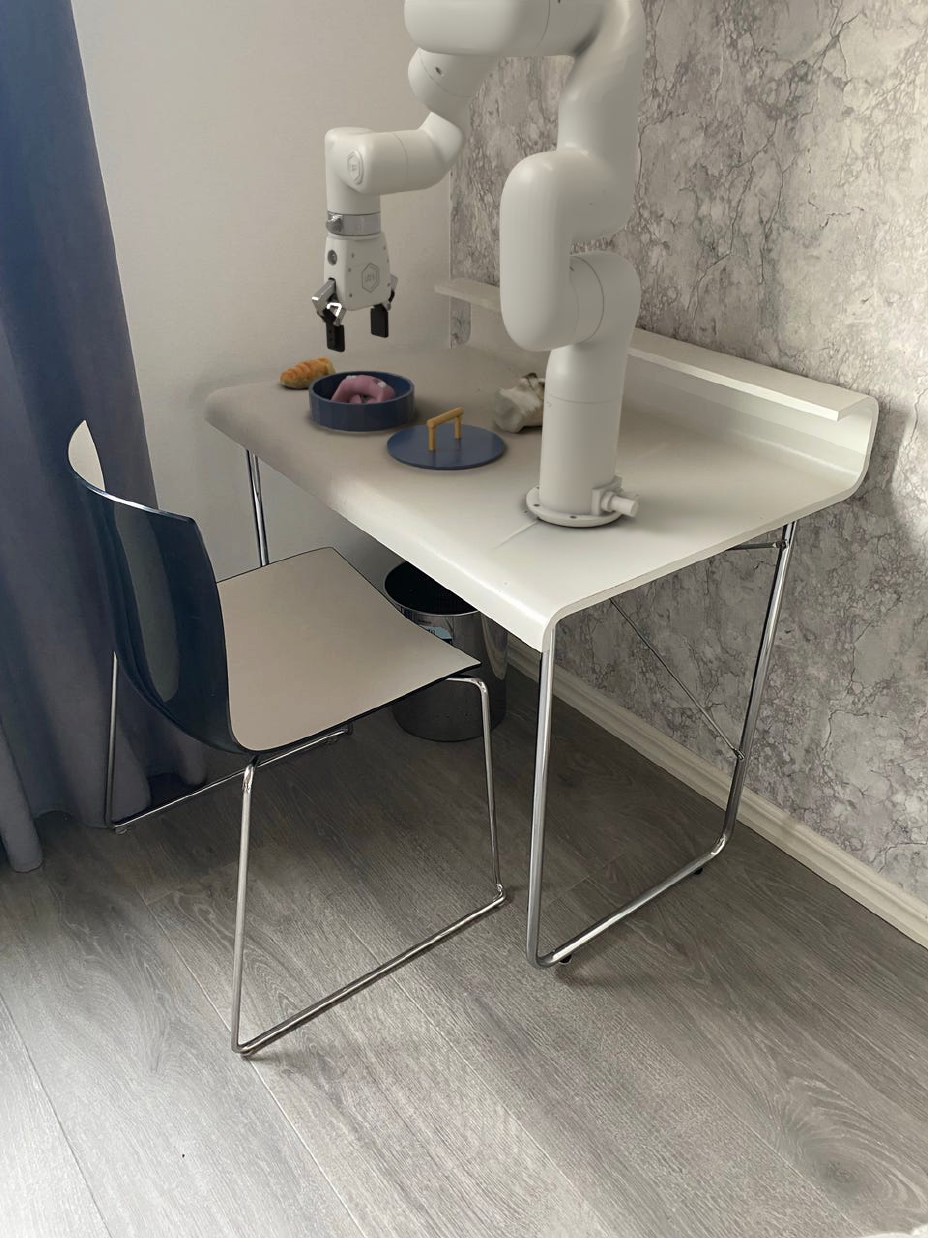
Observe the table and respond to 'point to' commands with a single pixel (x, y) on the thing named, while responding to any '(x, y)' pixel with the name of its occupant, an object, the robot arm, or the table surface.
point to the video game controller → (363, 390)
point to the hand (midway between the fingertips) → (358, 342)
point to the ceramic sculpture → (520, 404)
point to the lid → (445, 444)
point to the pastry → (307, 373)
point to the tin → (361, 404)
